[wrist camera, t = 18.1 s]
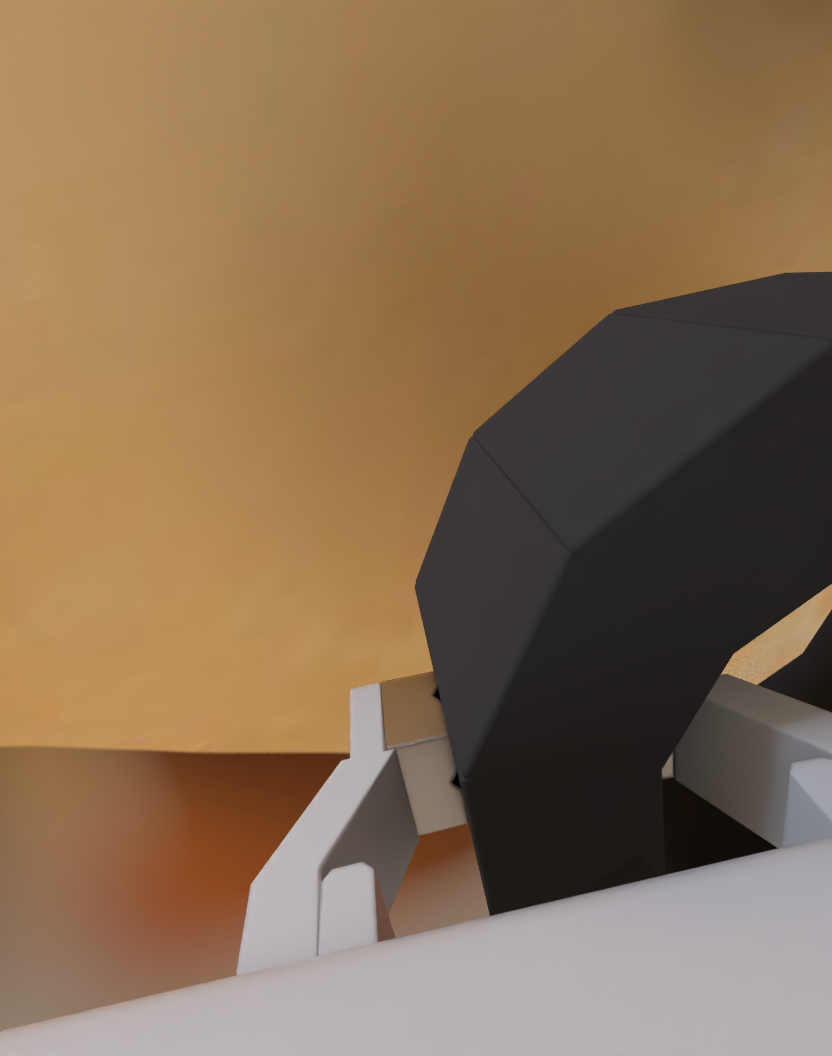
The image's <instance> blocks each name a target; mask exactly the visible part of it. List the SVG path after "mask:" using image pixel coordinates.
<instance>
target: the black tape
mask: <svg viewBox="0 0 832 1056" xmlns="http://www.w3.org/2000/svg"><path fill="white" fill-rule="evenodd" d="M830 584H832V272H802V273H783V274H778V275H774V276H769V277H764V278H760V279H755V280H751V281H746V282H741V283H737V284H732V285H728V286H723V287H718V288H714V289H709V290H705V291H700V292H696V293H691V294H686V295H682V296H677V297H673V298H668V299H663V300H659V301H654V302H650V303H645V304H641V305H636V306H631V307H627V308H622V309H618V310H615V311H614V312H613V313H611V314H609V315H607V316H606V317H605V318H604V319H603V320H602V321H600V322H599V323H598V324H597V325H596V326H595V327H594V328H592V329H591V330H590V331H589V332H588V333H587V334H586V335H584V336H583V337H582V338H581V339H580V340H579V341H578V342H576V343H575V344H574V345H573V346H572V347H571V348H569V349H568V350H567V351H566V352H565V353H564V354H563V355H561V356H560V357H559V358H558V359H557V360H556V361H555V362H553V363H552V364H551V365H550V366H549V367H548V368H547V369H545V370H544V371H543V372H542V373H541V374H540V375H539V376H537V377H536V378H535V379H534V380H533V381H532V382H531V383H529V384H528V385H527V386H526V387H525V388H524V389H523V390H521V391H520V392H519V393H518V394H517V395H516V396H514V397H513V398H512V399H511V400H510V401H509V402H508V403H506V404H505V405H504V406H503V407H502V408H501V409H500V410H498V411H497V412H496V413H495V414H494V415H493V416H492V417H490V418H489V419H488V420H487V421H486V422H485V423H484V424H482V425H481V426H480V427H479V428H478V429H477V430H476V431H475V432H474V433H473V436H472V437H471V438H470V439H469V441H468V443H467V446H466V449H465V451H464V454H463V457H462V459H461V462H460V465H459V467H458V470H457V473H456V475H455V478H454V481H453V483H452V486H451V489H450V491H449V494H448V497H447V499H446V502H445V505H444V507H443V510H442V513H441V515H440V518H439V520H438V523H437V526H436V528H435V531H434V534H433V536H432V539H431V542H430V544H429V547H428V550H427V552H426V555H425V558H424V560H423V563H422V566H421V568H420V571H419V574H418V576H417V579H416V584H415V590H416V595H417V599H418V603H419V608H420V612H421V617H422V621H423V626H424V630H425V635H426V639H427V643H428V648H429V652H430V657H431V661H432V666H433V670H434V672H435V677H436V681H437V685H438V690H439V694H440V699H441V702H442V707H443V711H444V715H445V720H446V724H447V728H448V733H449V737H450V741H451V746H452V750H453V755H454V759H455V764H456V768H457V773H458V777H459V782H460V786H461V790H462V795H463V799H464V804H465V808H466V813H467V817H468V822H469V827H470V831H471V835H472V839H473V844H474V849H475V853H476V857H477V862H478V866H479V870H480V875H481V879H482V883H483V887H484V892H485V896H486V900H487V905H488V909H489V913H490V916H492V915H496V914H500V913H505V912H509V911H513V910H517V909H522V908H526V907H530V906H535V905H539V904H543V903H547V902H552V901H556V900H560V899H564V898H569V897H573V896H577V895H581V894H586V893H590V892H594V891H599V890H603V889H607V888H611V887H616V886H620V885H624V884H628V883H633V882H637V881H641V880H645V879H650V878H654V877H658V876H663V875H667V874H671V873H675V872H680V871H684V870H688V869H692V868H697V867H701V866H705V865H709V864H714V863H718V862H722V861H727V860H731V859H735V858H739V857H744V856H748V855H752V854H757V853H761V852H765V851H769V850H774V849H778V848H777V847H775V846H774V845H772V844H771V843H769V842H768V841H766V840H765V839H763V838H762V837H760V836H759V835H757V834H756V833H754V832H753V831H751V830H750V829H748V828H747V827H745V826H744V825H742V824H741V823H739V822H738V821H736V820H735V819H733V818H732V817H730V816H729V815H727V814H726V813H724V812H723V811H721V810H720V809H718V808H717V807H715V806H714V805H712V804H711V803H709V802H708V801H706V800H705V799H703V798H702V797H700V796H699V795H697V794H696V793H694V792H693V791H691V790H690V789H688V788H687V787H685V786H684V785H682V784H681V783H679V782H678V781H676V780H675V777H672V778H667V779H662V769H663V767H664V766H665V764H666V762H667V761H668V759H669V758H670V756H671V754H672V753H673V751H674V749H675V748H676V746H677V745H678V743H679V741H680V740H681V738H682V736H683V735H684V733H685V732H686V730H687V728H688V727H689V725H690V723H691V722H692V720H693V719H694V717H695V715H696V714H697V712H698V710H699V709H700V707H701V706H702V704H703V702H704V701H705V699H706V697H707V696H708V694H709V693H710V691H711V689H712V688H713V686H714V684H715V683H716V681H717V680H718V678H719V676H720V675H721V673H722V671H723V670H724V668H725V667H726V665H727V663H728V662H729V660H730V658H731V657H732V655H733V654H734V653H735V652H736V651H738V650H739V649H741V648H742V647H743V646H745V645H746V644H748V643H749V642H751V641H752V640H753V639H755V638H756V637H758V636H759V635H760V634H762V633H763V632H765V631H766V630H767V629H769V628H770V627H772V626H773V625H774V624H776V623H777V622H779V621H780V620H781V619H783V618H784V617H786V616H787V615H788V614H790V613H791V612H793V611H794V610H795V609H797V608H798V607H800V606H801V605H802V604H804V603H805V602H807V601H808V600H809V599H811V598H812V597H814V596H815V595H816V594H818V593H819V592H821V591H822V590H823V589H825V588H826V587H828V586H829V585H830ZM758 686H761V687H764V688H766V689H769V690H772V691H774V692H777V693H780V694H783V695H785V696H788V697H791V698H794V699H796V700H799V701H802V702H805V703H807V704H810V705H813V706H816V707H818V708H821V709H824V710H826V711H829V712H832V610H831V612H830V613H829V615H828V616H827V618H826V619H825V621H824V622H823V624H822V625H821V627H820V628H819V630H818V631H817V633H816V634H815V636H814V637H813V639H812V640H811V642H810V643H809V645H808V646H807V648H806V649H805V651H804V652H803V654H801V655H800V656H798V657H797V658H795V659H794V660H793V661H791V662H790V663H788V664H787V665H785V666H784V667H783V668H781V669H780V670H778V671H777V672H775V673H774V674H772V675H771V676H770V677H768V678H767V679H765V680H764V681H762V682H761V683H760V684H758Z"/></svg>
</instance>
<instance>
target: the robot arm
mask: <svg viewBox="0 0 832 1056" xmlns="http://www.w3.org/2000/svg"><path fill="white" fill-rule="evenodd" d="M672 777H675V780H676V781H678V782H679V783H681V784H682V785H684V786H685V787H687V788H688V789H690V790H691V791H693V792H694V793H696V794H697V795H699V796H700V797H702V798H703V799H705V800H706V801H708V802H709V803H711V804H712V805H714V806H715V807H717V808H718V809H720V810H721V811H723V812H724V813H726V814H727V815H729V816H730V817H732V818H733V819H735V820H736V821H738V822H739V823H741V824H742V825H744V826H745V827H747V828H748V829H750V830H751V831H753V832H754V833H756V834H757V835H759V836H760V837H762V838H763V839H765V840H766V841H768V842H769V843H771V844H772V845H774V846H775V847H777V848H778V849H774V850H769V851H765V852H761V853H757V854H752V855H748V856H744V857H739V858H735V859H731V860H727V861H722V862H718V863H714V864H709V865H705V866H701V867H697V868H692V869H688V870H684V871H680V872H675V873H671V874H667V875H663V876H658V877H654V878H650V879H645V880H641V881H637V882H633V883H628V884H624V885H620V886H616V887H611V888H607V889H603V890H599V891H594V892H590V893H586V894H581V895H577V896H573V897H569V898H564V899H560V900H556V901H552V902H547V903H543V904H539V905H535V906H530V907H526V908H522V909H517V910H513V911H509V912H505V913H500V914H496V915H492V916H488V917H483V918H479V919H475V920H471V921H466V922H462V923H458V924H453V925H449V926H445V927H441V928H436V929H432V930H428V931H424V932H420V933H415V934H411V935H407V936H403V937H398V938H395V935H394V932H393V929H392V926H391V922H390V919H389V916H388V914H389V911H390V909H391V906H392V904H393V902H394V899H395V897H396V894H397V892H398V889H399V887H400V885H401V882H402V880H403V877H404V875H405V873H406V870H407V868H408V865H409V863H410V860H411V858H412V855H413V853H414V851H415V848H416V846H417V843H418V841H419V837H418V836H420V835H424V834H427V833H431V832H435V831H439V830H443V829H446V828H450V827H454V826H458V825H462V824H466V823H469V822H468V817H467V813H466V808H465V804H464V799H463V795H462V790H461V786H460V782H459V777H458V773H457V768H456V764H455V759H454V755H453V750H452V746H451V741H450V737H449V733H448V728H447V724H446V720H445V715H444V711H443V707H442V702H441V699H440V694H439V690H438V685H437V681H436V677H435V672H434V671H433V672H428V673H423V674H418V675H413V676H408V677H403V678H398V679H392V680H387V681H382V682H381V683H379V682H378V683H374V684H369V685H364V686H360V687H355V688H352V689H351V692H350V759H346V760H342V761H341V762H340V763H339V765H338V766H337V767H336V769H335V770H334V772H333V773H332V774H331V776H330V777H329V778H328V780H327V781H326V782H325V784H324V785H323V787H322V788H321V789H320V791H319V792H318V794H317V795H316V796H315V798H314V799H313V800H312V802H311V803H310V804H309V806H308V807H307V809H306V810H305V811H304V813H303V814H302V815H301V817H300V818H299V819H298V821H297V822H296V823H295V825H294V826H293V828H292V829H291V830H290V832H289V833H288V835H287V836H286V837H285V839H284V840H283V841H282V843H281V844H280V845H279V847H278V848H277V850H276V851H275V852H274V854H273V855H272V856H271V858H270V859H269V860H268V862H267V863H266V865H265V866H264V867H263V869H262V870H261V871H260V873H259V874H258V876H257V877H256V878H255V880H254V881H253V882H252V884H251V887H250V894H249V899H248V905H247V911H246V918H245V924H244V930H243V936H242V943H241V948H240V954H239V961H238V967H237V973H236V976H232V977H228V978H223V979H219V980H215V981H210V982H206V983H202V984H198V985H193V986H189V987H185V988H181V989H176V990H172V991H168V992H164V993H160V994H155V995H151V996H146V997H142V998H138V999H134V1000H129V1001H125V1002H121V1003H117V1004H112V1005H108V1006H104V1007H100V1008H95V1009H91V1010H87V1011H82V1012H78V1013H74V1014H70V1015H66V1016H61V1017H57V1018H53V1019H48V1020H44V1021H40V1022H36V1023H31V1024H27V1025H23V1026H18V1027H14V1028H10V1029H6V1030H1V1031H0V1056H832V712H829V711H826V710H824V709H821V708H818V707H816V706H813V705H810V704H807V703H805V702H802V701H799V700H796V699H794V698H791V697H788V696H785V695H783V694H780V693H777V692H774V691H772V690H769V689H766V688H764V687H761V686H758V685H755V684H753V683H750V682H747V681H744V680H742V679H739V678H736V677H733V676H731V675H728V674H723V675H720V676H719V678H718V680H717V681H716V683H715V684H714V686H713V688H712V689H711V691H710V693H709V694H708V696H707V697H706V699H705V701H704V702H703V704H702V706H701V707H700V709H699V710H698V712H697V714H696V715H695V717H694V719H693V720H692V722H691V723H690V725H689V727H688V728H687V730H686V732H685V733H684V735H683V736H682V738H681V740H680V741H679V743H678V745H677V746H676V748H675V749H674V751H673V753H672V754H671V756H670V758H669V759H668V761H667V762H666V764H665V766H664V767H663V769H662V779H667V778H672Z"/></svg>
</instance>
